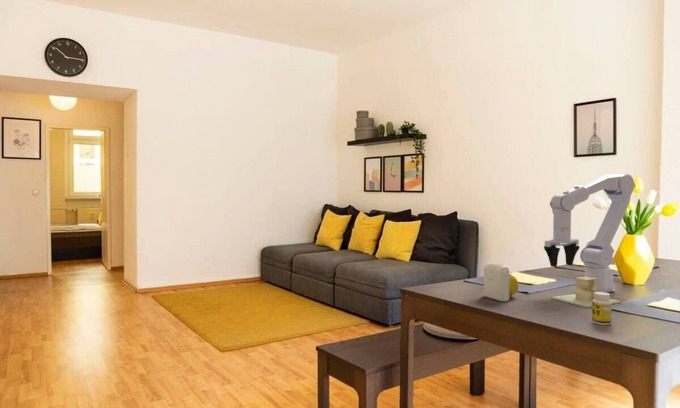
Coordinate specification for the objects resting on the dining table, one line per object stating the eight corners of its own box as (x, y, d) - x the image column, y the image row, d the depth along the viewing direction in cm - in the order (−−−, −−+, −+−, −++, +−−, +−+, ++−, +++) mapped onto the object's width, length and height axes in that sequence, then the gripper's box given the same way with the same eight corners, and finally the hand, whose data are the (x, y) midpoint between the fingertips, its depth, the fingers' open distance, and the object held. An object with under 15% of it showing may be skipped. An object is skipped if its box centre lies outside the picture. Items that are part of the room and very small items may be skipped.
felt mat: (584, 294, 176) (585, 292, 176) (621, 302, 163) (621, 301, 163) (551, 298, 169) (551, 296, 169) (586, 307, 157) (586, 305, 157)
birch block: (584, 297, 169) (585, 276, 169) (596, 299, 165) (596, 278, 165) (575, 298, 167) (575, 277, 167) (586, 301, 163) (587, 279, 163)
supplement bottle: (588, 320, 142) (588, 291, 141) (604, 320, 142) (604, 291, 142) (598, 325, 137) (599, 295, 137) (614, 325, 137) (615, 294, 137)
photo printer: (481, 296, 174) (481, 260, 174) (491, 295, 175) (492, 260, 175) (500, 302, 164) (500, 265, 164) (511, 301, 166) (511, 264, 165)
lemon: (519, 299, 169) (519, 275, 169) (502, 298, 170) (502, 275, 170) (516, 295, 174) (517, 272, 174) (500, 294, 176) (500, 272, 175)
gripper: (567, 226, 184) (567, 262, 184) (538, 227, 178) (537, 265, 178) (583, 227, 177) (583, 265, 178) (553, 229, 172) (553, 268, 172)
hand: (561, 265), depth 178 cm, fingers open, 7 cm apart
